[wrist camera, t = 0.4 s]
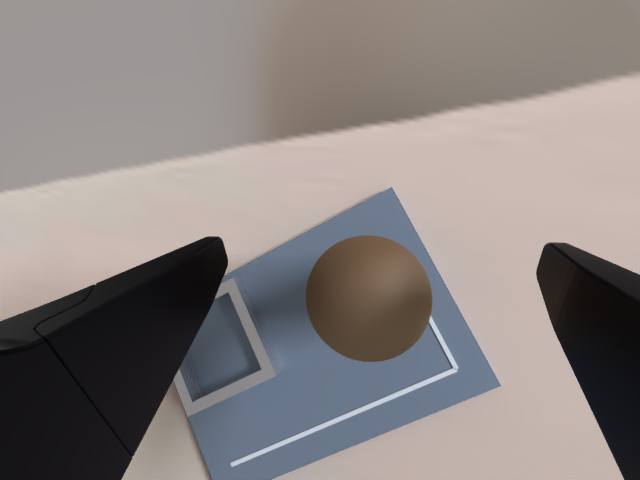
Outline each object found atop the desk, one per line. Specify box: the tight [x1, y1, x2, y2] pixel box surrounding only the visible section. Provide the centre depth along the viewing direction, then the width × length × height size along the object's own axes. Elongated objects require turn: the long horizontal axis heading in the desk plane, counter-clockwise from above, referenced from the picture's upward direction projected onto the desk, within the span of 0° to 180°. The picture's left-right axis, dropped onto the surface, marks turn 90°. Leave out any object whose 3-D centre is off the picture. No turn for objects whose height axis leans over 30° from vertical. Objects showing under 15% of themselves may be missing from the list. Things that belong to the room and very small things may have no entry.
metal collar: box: [173, 277, 283, 417], centre depth 24 cm, size 8×8×2 cm
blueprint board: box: [188, 187, 501, 480], centre depth 24 cm, size 15×22×1 cm
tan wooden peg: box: [306, 235, 432, 362], centre depth 17 cm, size 4×4×12 cm
